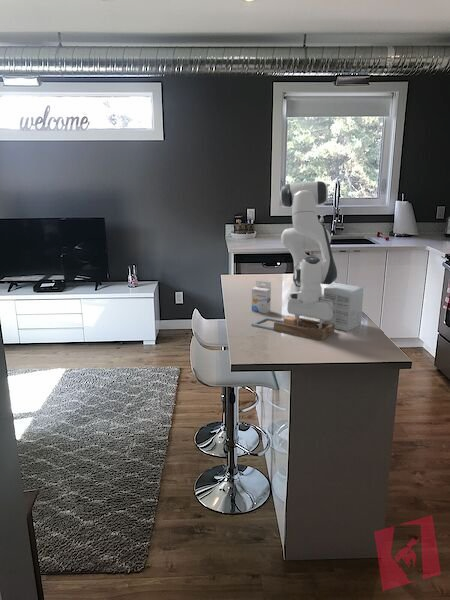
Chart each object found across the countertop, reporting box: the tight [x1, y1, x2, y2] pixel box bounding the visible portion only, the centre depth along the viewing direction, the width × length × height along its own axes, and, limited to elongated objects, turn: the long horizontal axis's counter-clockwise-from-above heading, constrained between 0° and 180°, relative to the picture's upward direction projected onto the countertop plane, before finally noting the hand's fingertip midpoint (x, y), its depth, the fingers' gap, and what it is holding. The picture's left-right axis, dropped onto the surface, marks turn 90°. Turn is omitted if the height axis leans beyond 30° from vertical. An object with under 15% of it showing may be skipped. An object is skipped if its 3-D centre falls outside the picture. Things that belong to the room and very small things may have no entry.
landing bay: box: [251, 316, 284, 331], centre depth 220 cm, size 13×12×1 cm
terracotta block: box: [283, 315, 300, 327], centre depth 213 cm, size 5×5×5 cm
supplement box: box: [323, 282, 364, 332], centre depth 216 cm, size 13×13×18 cm
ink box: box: [251, 280, 272, 314], centre depth 239 cm, size 8×5×15 cm, turn 60°
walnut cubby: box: [273, 315, 335, 341], centre depth 210 cm, size 13×22×4 cm, turn 53°
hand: (309, 326), depth 208 cm, fingers open, 8 cm apart
